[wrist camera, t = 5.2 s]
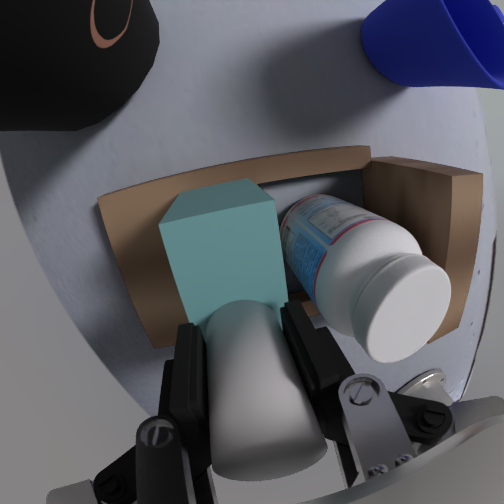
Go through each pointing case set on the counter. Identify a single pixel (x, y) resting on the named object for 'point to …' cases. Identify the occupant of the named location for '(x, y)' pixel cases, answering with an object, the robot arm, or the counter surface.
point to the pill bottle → (365, 275)
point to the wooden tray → (290, 166)
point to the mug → (437, 42)
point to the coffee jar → (71, 60)
